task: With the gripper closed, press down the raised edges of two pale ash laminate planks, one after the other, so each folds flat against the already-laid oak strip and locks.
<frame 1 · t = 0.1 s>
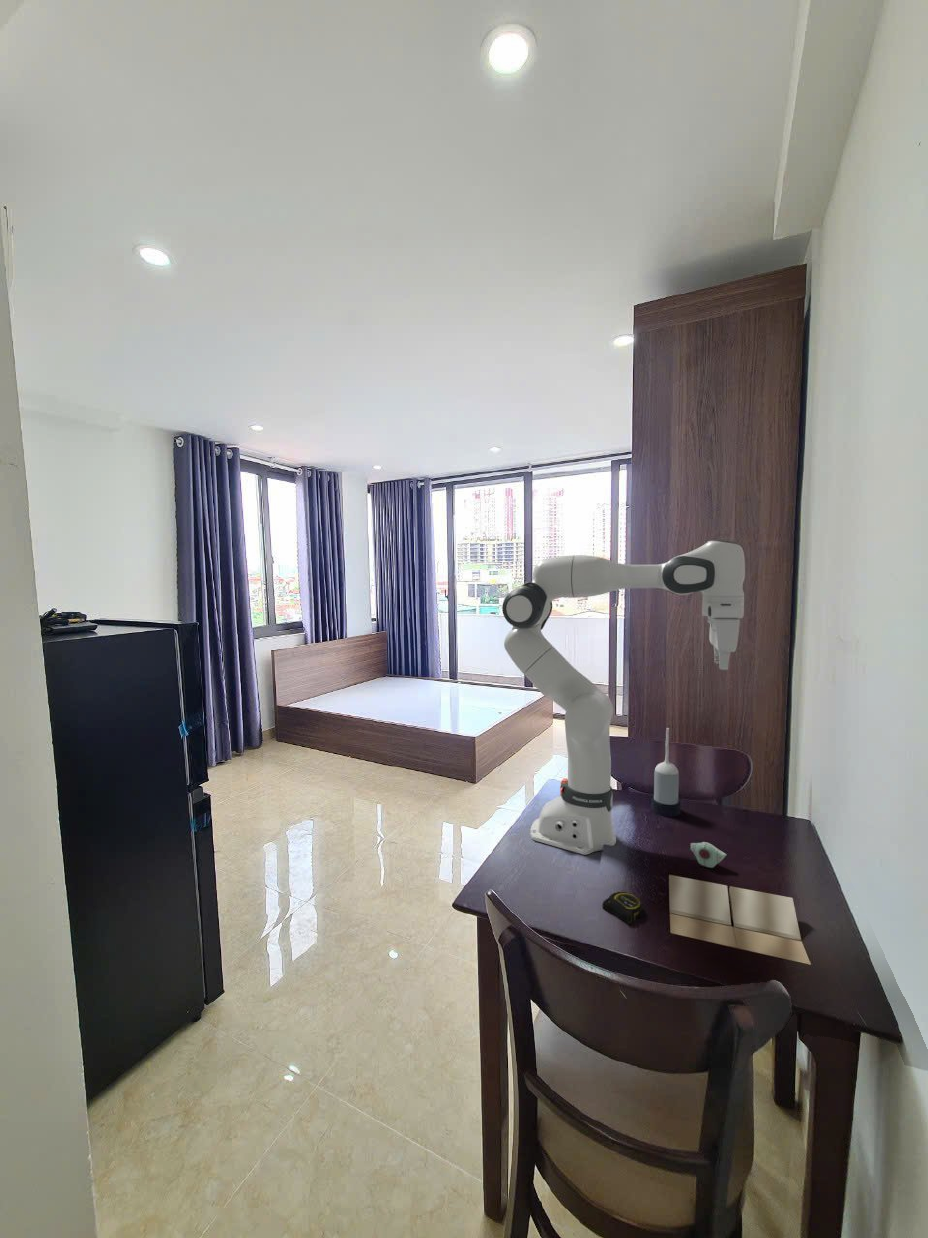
hand: (721, 666, 119), 48 cm above the table, fingers open, 8 cm apart
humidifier: (665, 811, 149), on the table
laid strip: (735, 945, 93), on the table
plank b: (763, 914, 97), point 3 cm above the table, hinge at 30.0°
tape measure: (624, 921, 100), on the table
plank a: (698, 901, 101), point 3 cm above the table, hinge at 30.0°
pig figurine: (706, 871, 117), on the table
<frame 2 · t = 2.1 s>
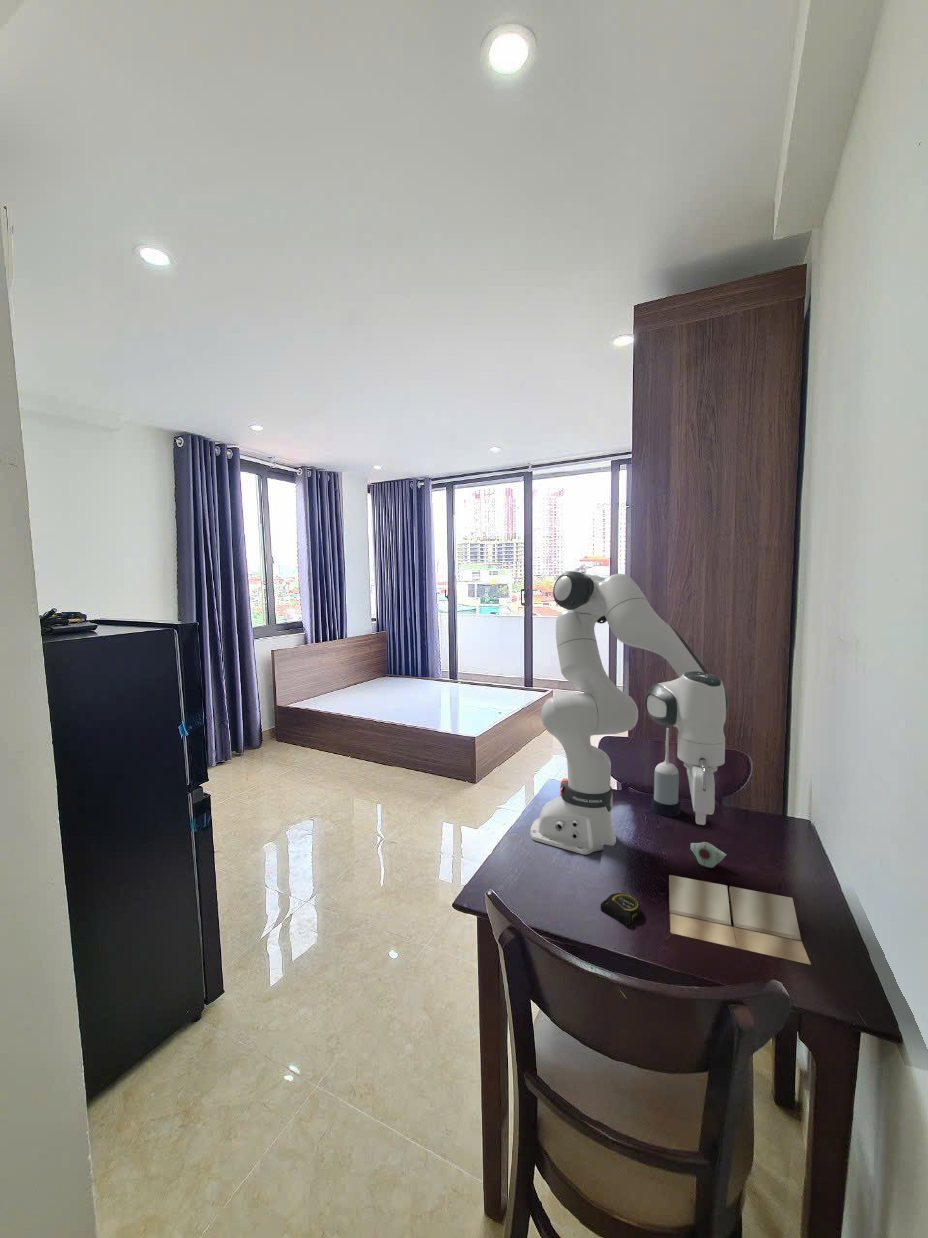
hand: (699, 816, 103), 19 cm above the table, fingers open, 5 cm apart
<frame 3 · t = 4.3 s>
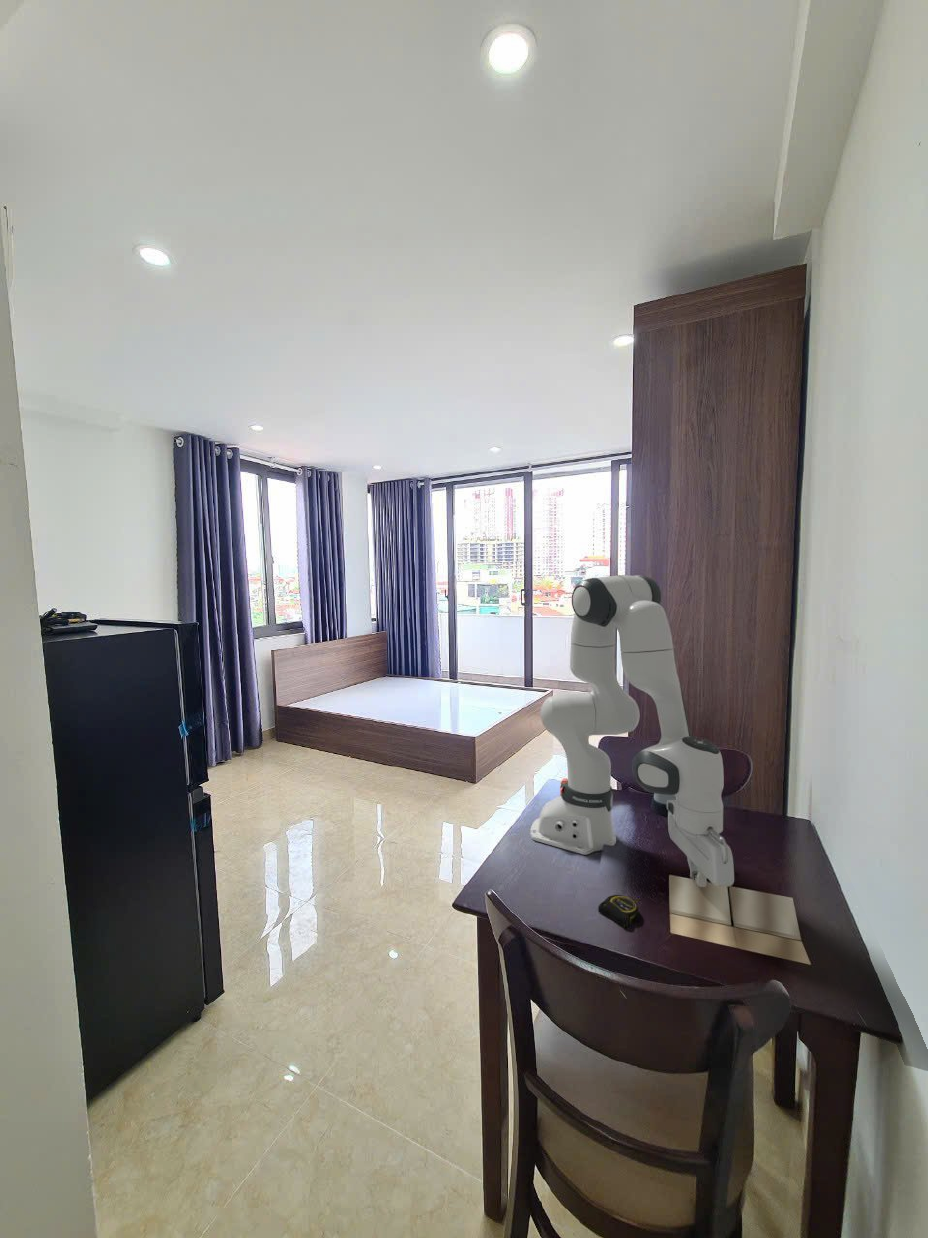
hand: (698, 882, 104), 5 cm above the table, fingers closed
plank a: (698, 901, 101), point 3 cm above the table, hinge at 29.9°, touching gripper
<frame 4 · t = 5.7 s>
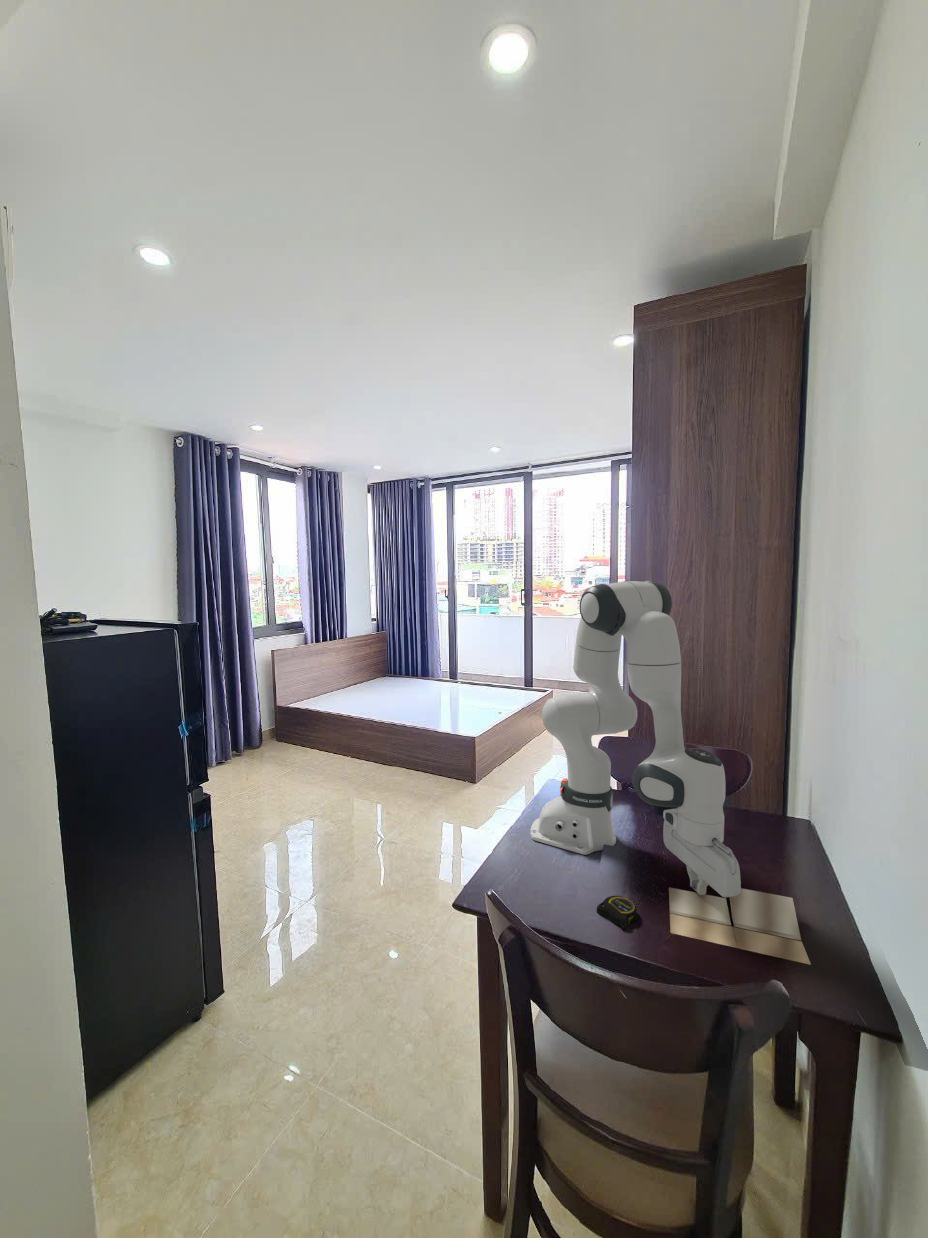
hand: (698, 890, 105), 3 cm above the table, fingers closed
plank a: (698, 908, 102), point 1 cm above the table, hinge at 4.4°
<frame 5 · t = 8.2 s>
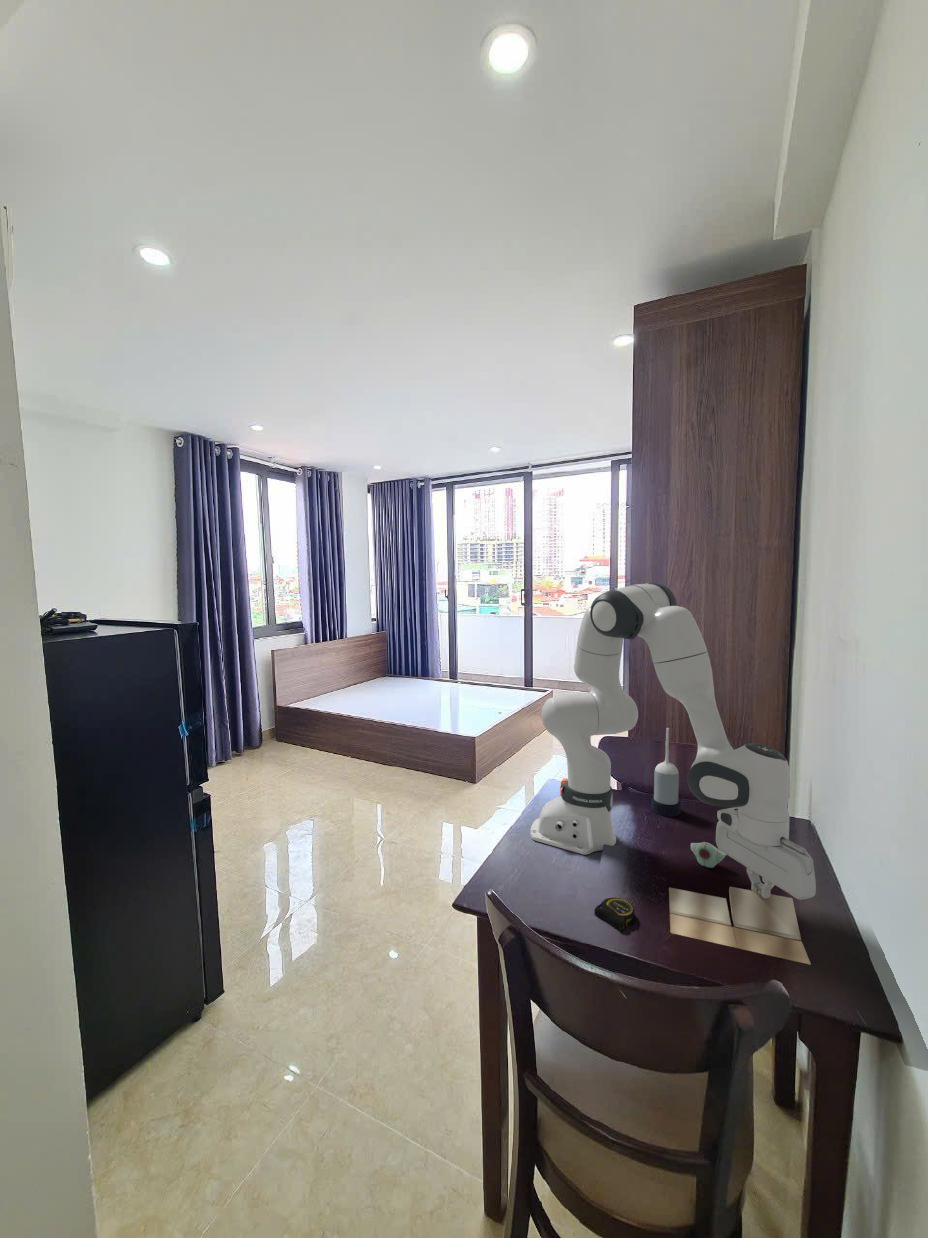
hand: (760, 894, 100), 5 cm above the table, fingers closed, pressing on plank b
plank b: (763, 914, 97), point 3 cm above the table, hinge at 29.1°, touching gripper
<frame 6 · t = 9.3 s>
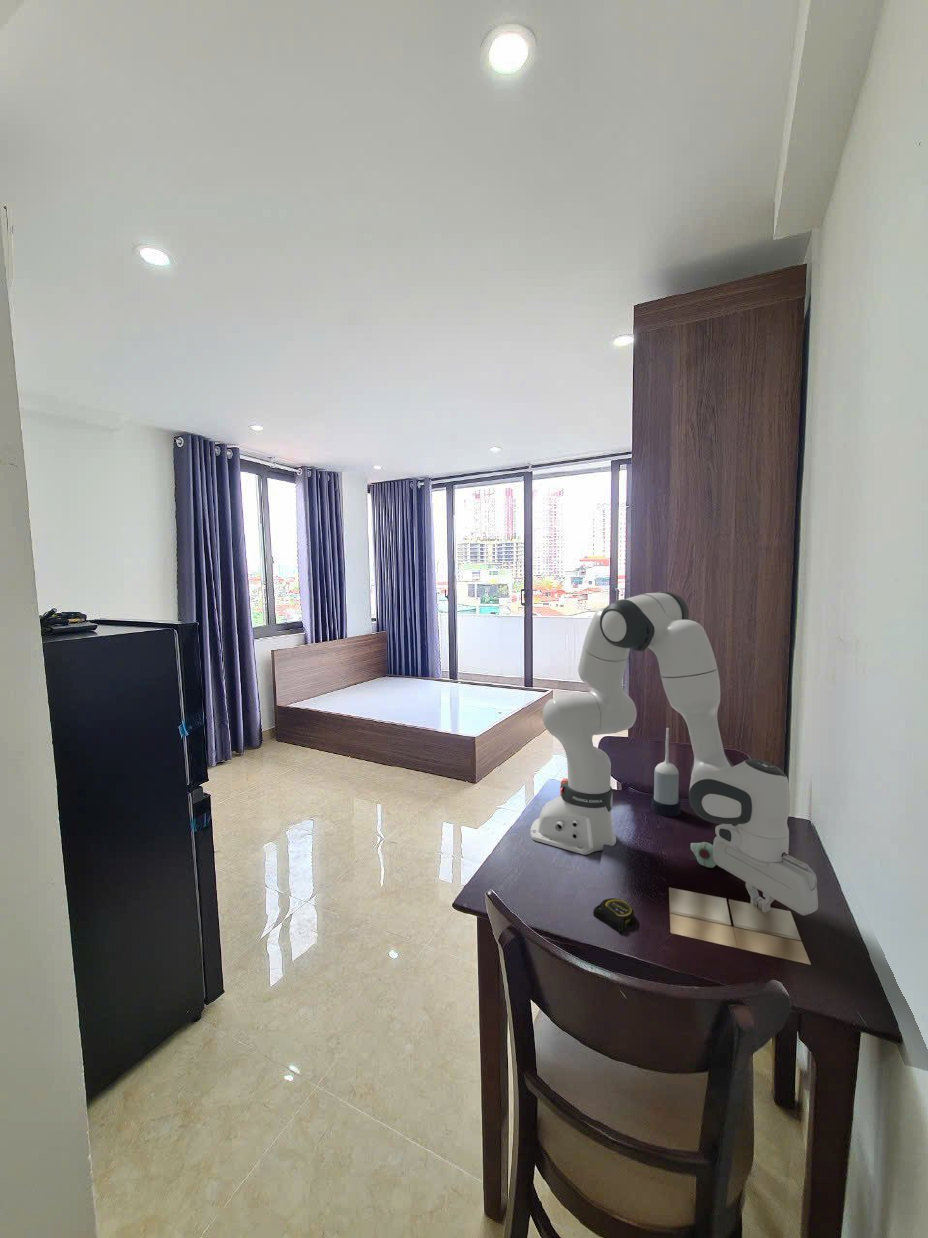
hand: (760, 908, 101), 2 cm above the table, fingers closed, pressing on plank b
plank b: (762, 922, 98), point 1 cm above the table, hinge at 4.2°, touching gripper
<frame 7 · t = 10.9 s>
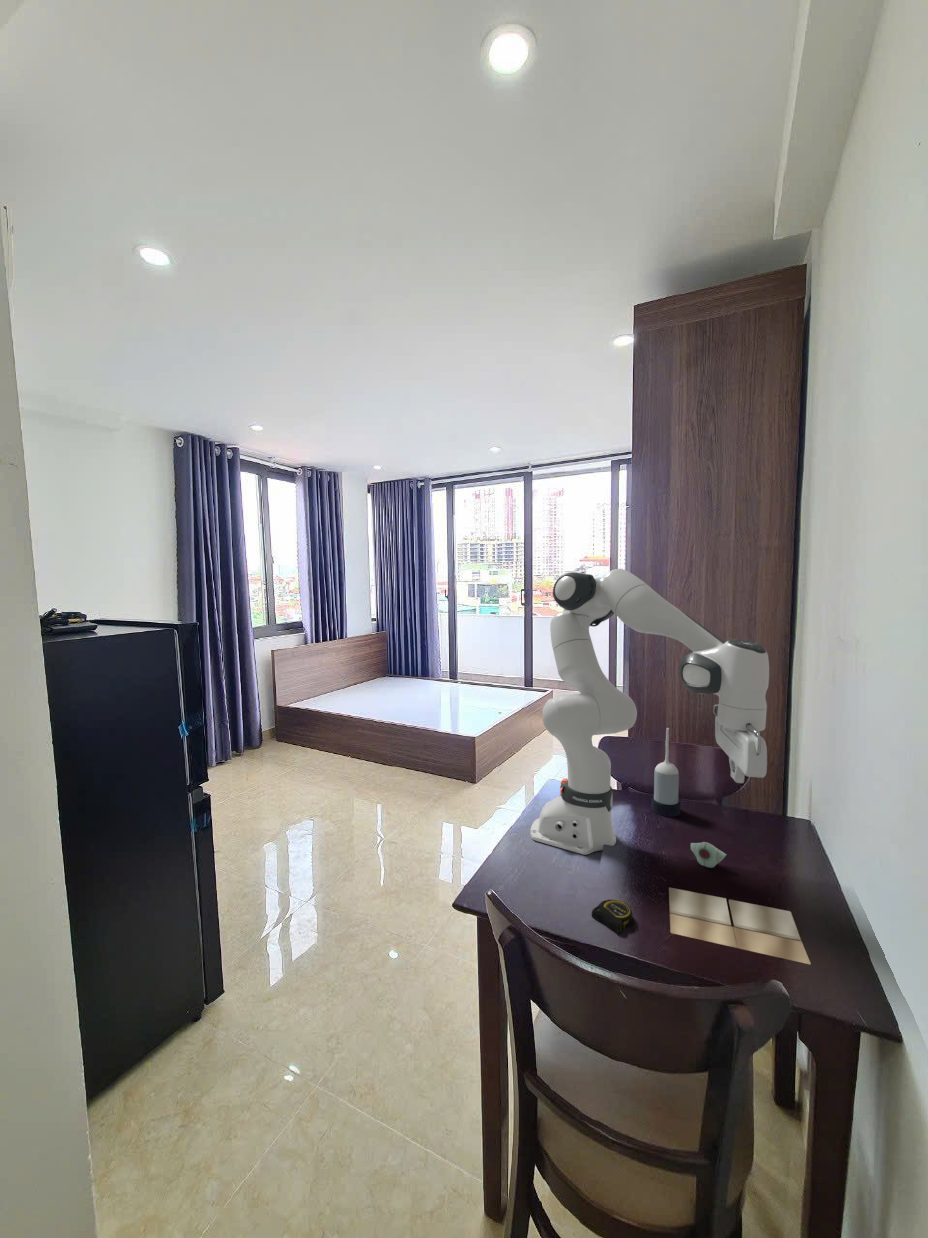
hand: (737, 780, 106), 26 cm above the table, fingers closed
plank b: (762, 922, 98), point 1 cm above the table, hinge at 4.0°
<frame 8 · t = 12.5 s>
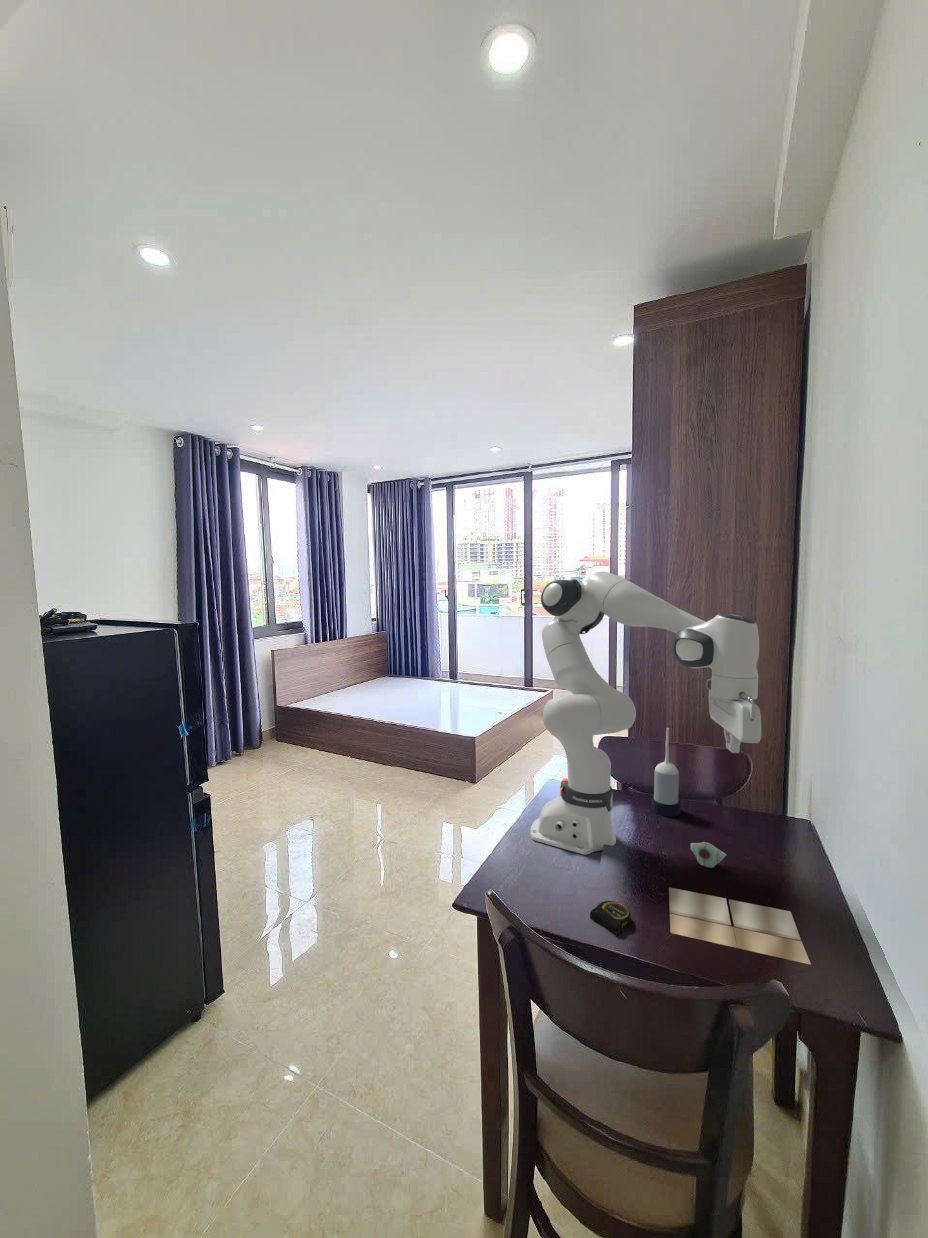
hand: (732, 751, 108), 31 cm above the table, fingers closed
at the end: plank a at +4° (first picture: +30°); plank b at +4° (first picture: +30°); plank b touching nothing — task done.
